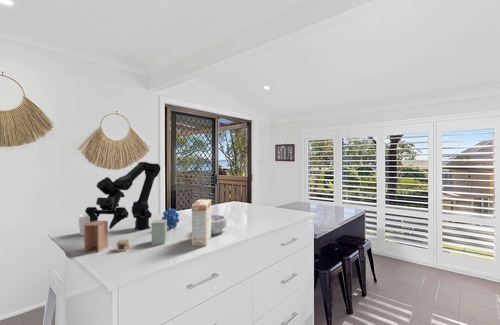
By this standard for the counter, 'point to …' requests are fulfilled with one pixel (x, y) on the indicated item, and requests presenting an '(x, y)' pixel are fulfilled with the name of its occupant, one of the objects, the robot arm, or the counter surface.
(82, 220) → the white cup
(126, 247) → the maple cube
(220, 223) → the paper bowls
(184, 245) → the counter surface
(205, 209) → the coffeecake box
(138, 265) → the counter surface
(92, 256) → the counter surface
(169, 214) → the grapes
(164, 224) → the sage canister
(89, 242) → the terracotta cover
